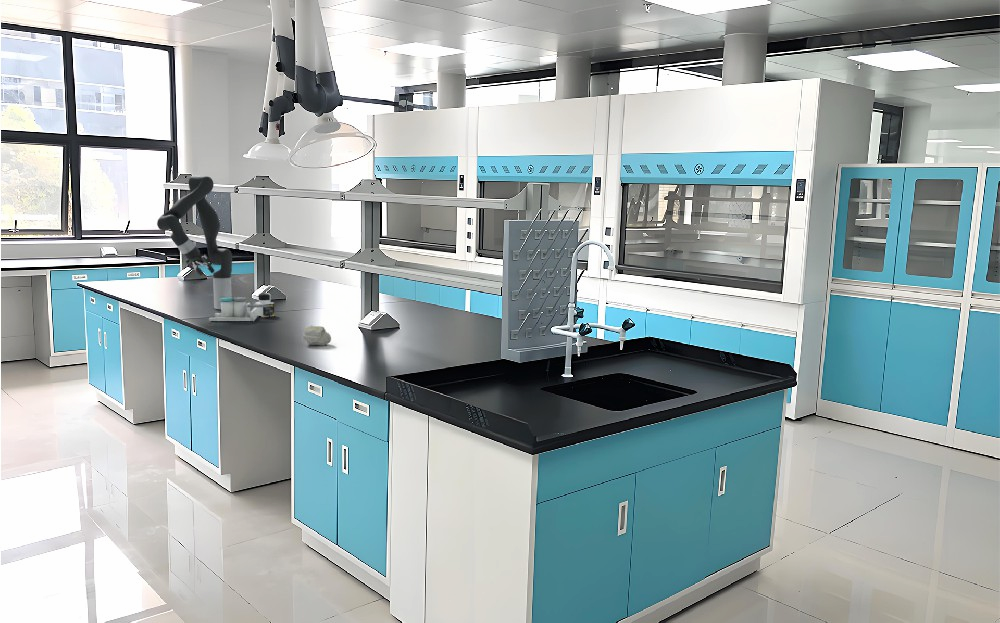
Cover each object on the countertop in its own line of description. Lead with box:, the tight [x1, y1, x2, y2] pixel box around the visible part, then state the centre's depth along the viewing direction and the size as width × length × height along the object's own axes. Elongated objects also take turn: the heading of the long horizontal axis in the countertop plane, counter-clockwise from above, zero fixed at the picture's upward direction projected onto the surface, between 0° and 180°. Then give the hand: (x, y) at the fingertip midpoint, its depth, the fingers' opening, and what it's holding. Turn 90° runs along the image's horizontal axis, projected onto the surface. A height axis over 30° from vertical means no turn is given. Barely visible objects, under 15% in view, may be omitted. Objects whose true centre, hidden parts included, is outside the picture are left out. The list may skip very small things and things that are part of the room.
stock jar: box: [232, 296, 248, 317], centre depth 390 cm, size 6×6×11 cm
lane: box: [208, 307, 258, 322], centre depth 391 cm, size 16×21×5 cm
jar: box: [220, 296, 234, 317], centre depth 389 cm, size 6×6×11 cm
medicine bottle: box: [254, 292, 275, 318], centre depth 403 cm, size 7×7×12 cm
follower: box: [245, 302, 269, 317], centre depth 392 cm, size 10×11×8 cm
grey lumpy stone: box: [302, 325, 332, 347], centre depth 336 cm, size 12×8×10 cm
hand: (207, 273), depth 395 cm, fingers open, 8 cm apart
